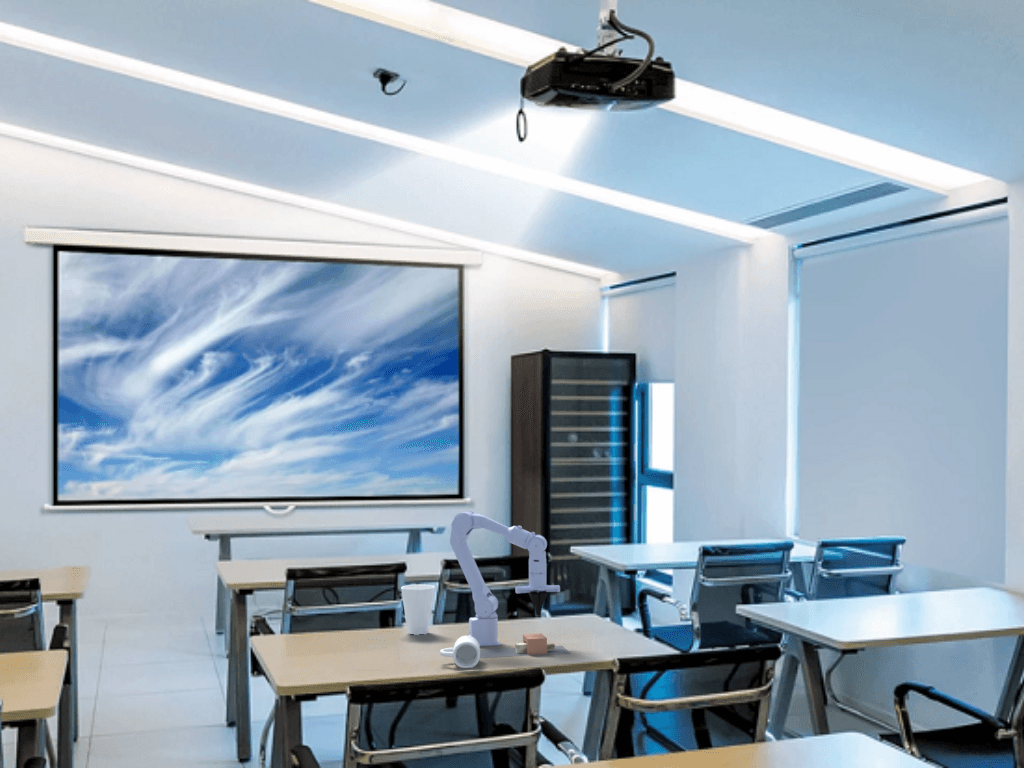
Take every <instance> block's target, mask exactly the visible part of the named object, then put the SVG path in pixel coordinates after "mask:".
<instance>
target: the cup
mask: <svg viewBox="0 0 1024 768" xmlns="http://www.w3.org/2000/svg"><path fill="white" fill-rule="evenodd" d="M435 588H436V586H435V585H432V584H423V583H422V584H419V583H418V584H406V585H403V586H401V587H400V589H401V596H402V602H403V609H404V611H403V612H404V617H405V618H404V619H405V625H406V627H407V634H408V633H409V634H408V635H410V634H414V635H413V636H420V635H419V634H424V635H427V633H428V634H429V627H430V626H431V620H432V613H433V612H432V611H433V605H434V604H433V603H434V596H435Z"/></svg>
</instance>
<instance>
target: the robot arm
mask: <svg viewBox="0 0 1024 768" xmlns="http://www.w3.org/2000/svg"><path fill="white" fill-rule="evenodd" d="M450 526H451V531H450V537H449V544H450V546H451V549H452V550H453V554H454V556H456V559H457V561H458V564H459V566H460V569H461V570H462V573H463V575H464V576H465V580H466V581H467V582H466V583H468V586H469V589H470V590H471V592H472V593H471V594H472V595H471V596H472V600H473V602H474V612H475V616H474V617H469V619H468V636H472V637H474V638H475V639H476V640H477V641H478V643H479V645H480V647H486V646H500V645H501V642H499V639H498V637H499V635H498V634H499V631H498V630H499V629H498V625H499V624H498V622H499V621H498V614H497V612H496V611H497V610H498V608H499V600H498V598H497V597H496V595H494V594H493V593H492V592H491V590H490V588H489V587H488V586H487V584H486V583H485V580H484V578H483V576H482V573H481V571H480V569H479V567H478V565H477V563H476V560H475V558H474V556H473V554H472V552H471V550H470V547H469V544H468V543H467V541H468V539H469V536H470V533H471V532H472V531H473V530H477V529H485V530H488V531H491V532H493V533H496V534H497V535H501V536H503V537H505V538H506V541H507V542H508V543H510V544H513V545H514V546H517V547H519V548H522V549H524V550H527V551H528V554H529V555H528V557H529V558H528V585H521V586H515V593H516V594H527V593H528V595H529V598H530V600H531V602H532V604H533V610H534V614H535V615H534V616H541V614H542V609H543V607H544V603H545V601H546V598H547V596H548V593H556V592H557V593H560V592H561V586H560V585H559V584H557V585H556V584H553V585H552V584H550V585H549V584H547V553H546V549H547V546H548V541H547V539H546V538H545V536H543V535H541V534H536V532H534V531H532V532H530V531H528V530H526V529H524V528H523V527H522V525H513V526H510V527H509V526H507V525H505V524H502V523H501V522H498V521H496V520H494V519H492V518H490V517H488V516H485V515H483V514H482V513H481V514H480V513H478V512H474V511H471V510H465V511H463V512H460V513H457V514H456V515H455V516H454V518H453V520H452V521H451V524H450Z"/></svg>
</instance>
